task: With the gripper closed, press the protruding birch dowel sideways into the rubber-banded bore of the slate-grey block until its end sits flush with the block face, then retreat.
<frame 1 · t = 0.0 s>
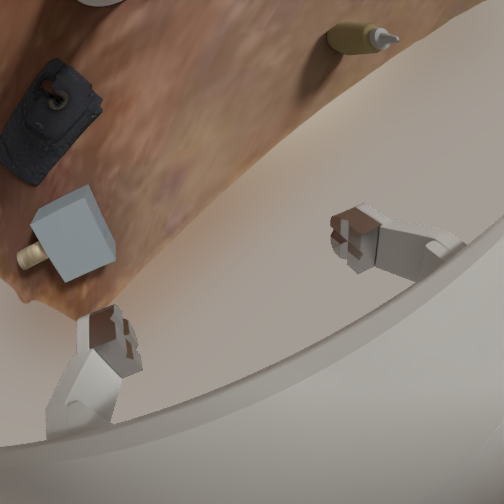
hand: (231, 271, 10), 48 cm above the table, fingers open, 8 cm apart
dowel peg: (43, 249, 47), point 3 cm above the table, slide at 0.0 cm
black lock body: (44, 122, 39), on the table
socket block: (76, 225, 51), on the table
squeeze bottle: (336, 39, 51), on the table
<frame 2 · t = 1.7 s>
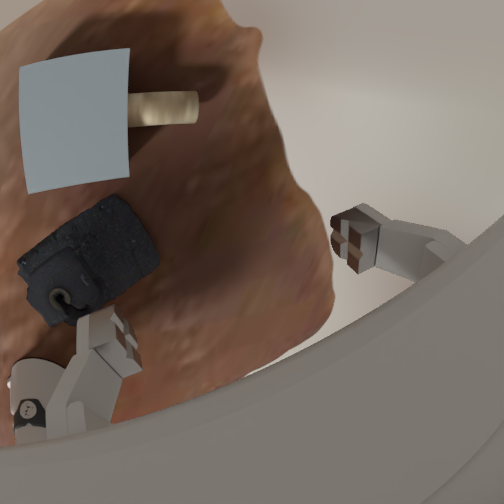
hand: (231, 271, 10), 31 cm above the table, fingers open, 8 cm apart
dowel peg: (143, 109, 29), point 3 cm above the table, slide at 0.0 cm
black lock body: (86, 264, 39), on the table
socket block: (80, 115, 28), on the table
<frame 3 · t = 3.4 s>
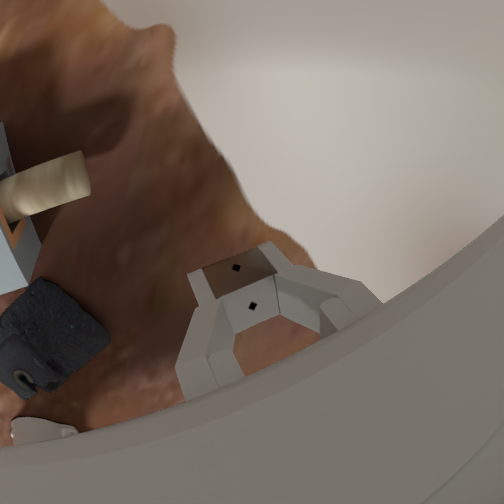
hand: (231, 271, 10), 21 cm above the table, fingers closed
dowel peg: (26, 193, 19), point 4 cm above the table, slide at 0.0 cm
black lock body: (41, 341, 32), on the table
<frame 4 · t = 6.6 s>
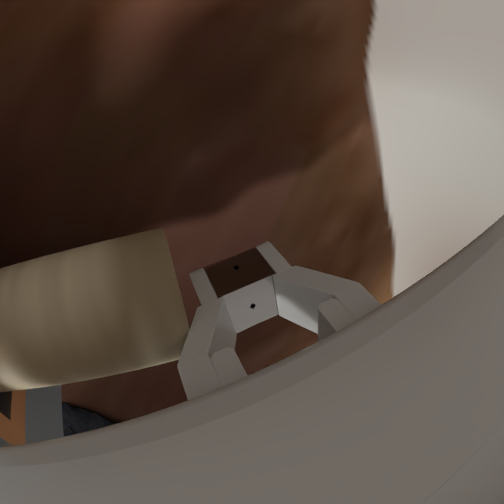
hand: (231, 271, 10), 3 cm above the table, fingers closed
dowel peg: (11, 329, 7), point 3 cm above the table, slide at 0.4 cm, touching gripper
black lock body: (60, 451, 19), on the table
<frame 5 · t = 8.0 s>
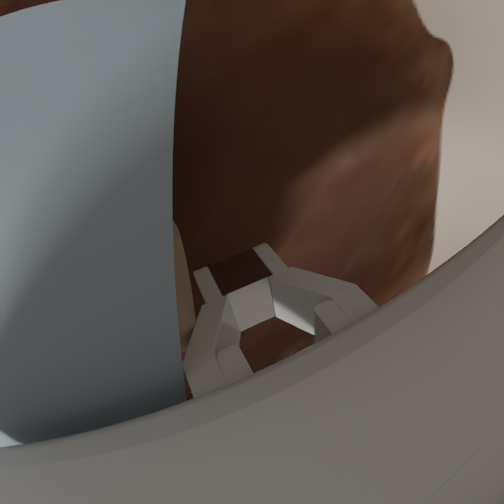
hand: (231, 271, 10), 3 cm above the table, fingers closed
dowel peg: (4, 309, 7), point 3 cm above the table, slide at 7.3 cm, touching gripper
socket block: (12, 253, 9), on the table
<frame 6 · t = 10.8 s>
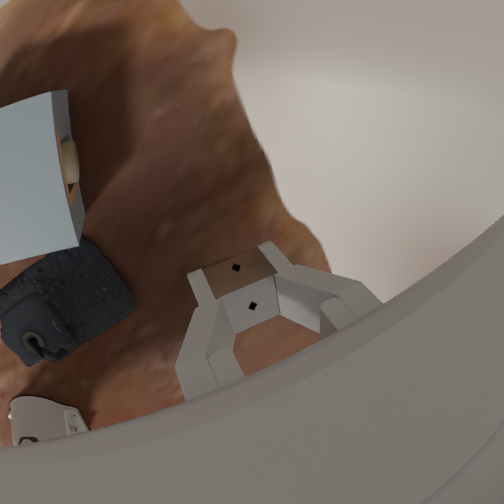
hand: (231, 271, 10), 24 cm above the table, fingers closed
dowel peg: (20, 175, 20), point 4 cm above the table, slide at 7.3 cm
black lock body: (59, 305, 34), on the table
socket block: (25, 167, 23), on the table
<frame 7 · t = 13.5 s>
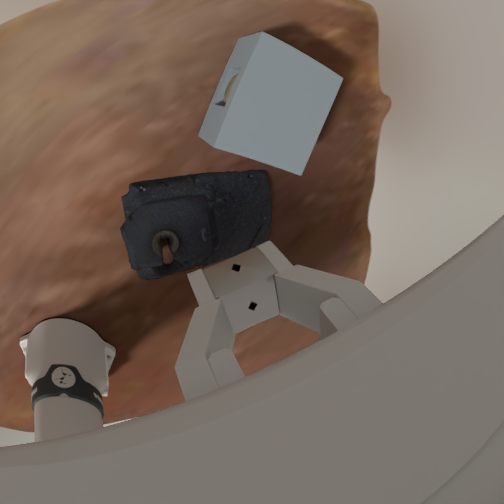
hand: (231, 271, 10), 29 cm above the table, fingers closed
dowel peg: (275, 105, 33), point 3 cm above the table, slide at 7.3 cm
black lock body: (197, 221, 42), on the table
socket block: (258, 101, 35), on the table
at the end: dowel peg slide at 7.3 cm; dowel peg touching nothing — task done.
